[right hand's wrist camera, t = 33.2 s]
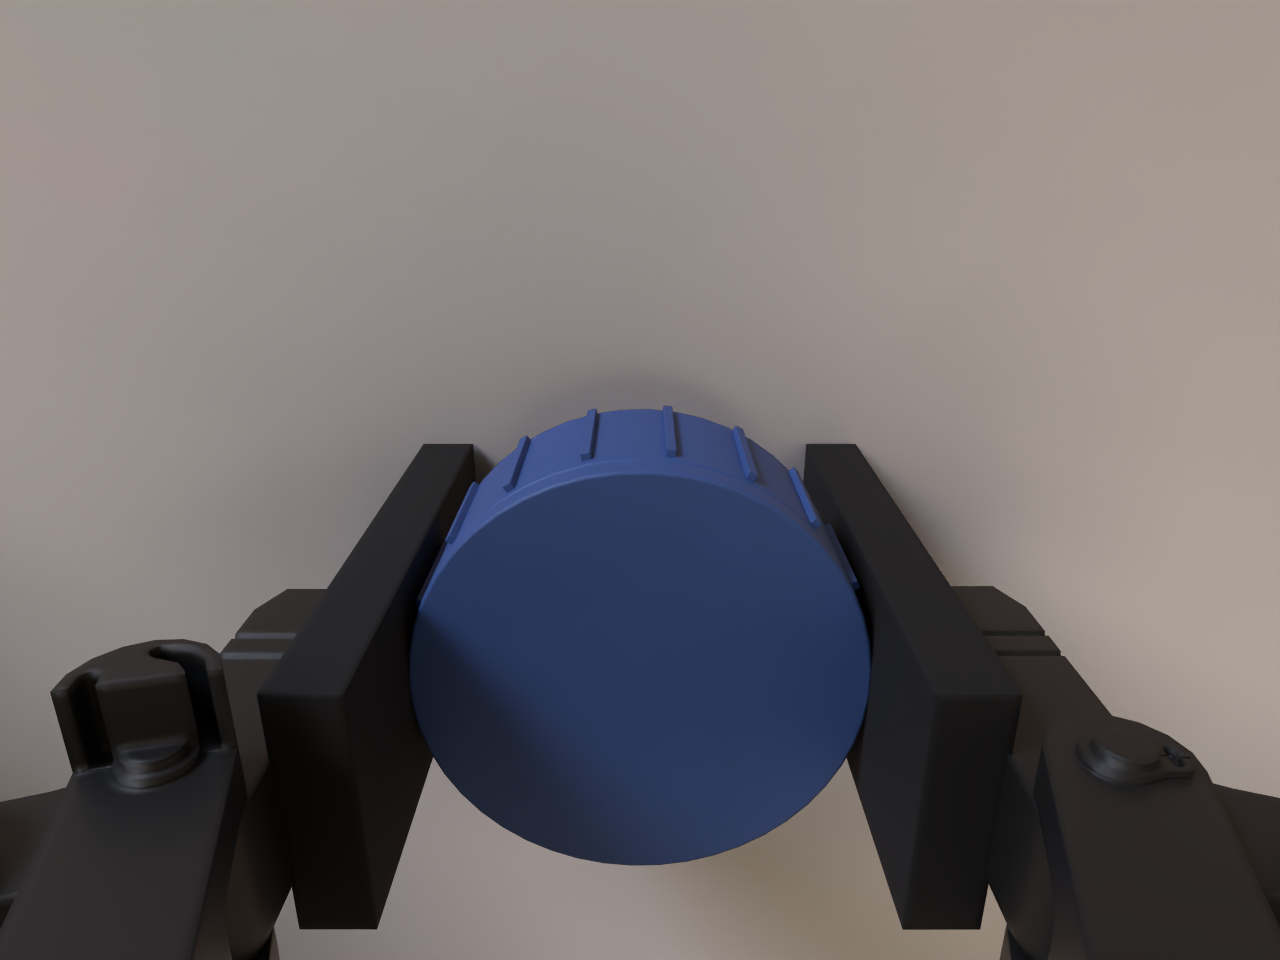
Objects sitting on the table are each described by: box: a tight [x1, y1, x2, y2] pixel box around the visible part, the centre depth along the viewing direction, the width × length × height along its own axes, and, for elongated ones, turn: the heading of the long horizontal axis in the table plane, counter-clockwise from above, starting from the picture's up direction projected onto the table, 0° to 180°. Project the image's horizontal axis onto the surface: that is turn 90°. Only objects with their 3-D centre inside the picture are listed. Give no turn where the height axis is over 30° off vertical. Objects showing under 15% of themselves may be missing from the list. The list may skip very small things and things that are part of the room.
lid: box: [409, 406, 872, 865], centre depth 11 cm, size 5×5×2 cm
